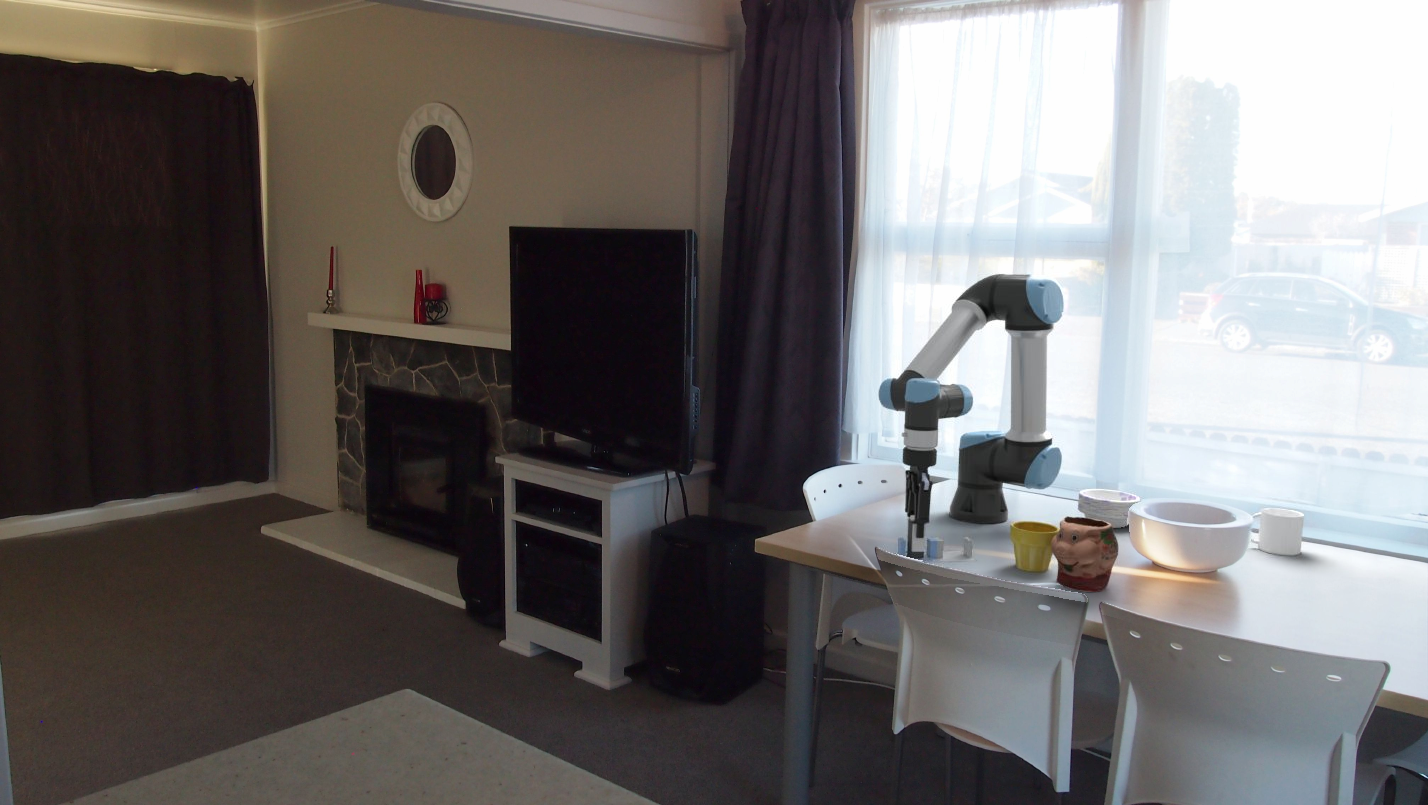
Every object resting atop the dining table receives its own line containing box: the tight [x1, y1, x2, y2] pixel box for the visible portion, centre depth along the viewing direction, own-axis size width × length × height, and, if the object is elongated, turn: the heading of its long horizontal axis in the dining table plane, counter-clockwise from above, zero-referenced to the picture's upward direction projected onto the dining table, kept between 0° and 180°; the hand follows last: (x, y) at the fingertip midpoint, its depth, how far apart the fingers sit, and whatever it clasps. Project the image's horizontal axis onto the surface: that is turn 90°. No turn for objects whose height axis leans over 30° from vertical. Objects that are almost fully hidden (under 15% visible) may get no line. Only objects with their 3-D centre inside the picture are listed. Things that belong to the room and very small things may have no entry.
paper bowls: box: [1077, 488, 1142, 529], centre depth 267 cm, size 15×15×8 cm
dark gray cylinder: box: [906, 515, 924, 559], centre depth 232 cm, size 4×4×9 cm
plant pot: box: [1009, 520, 1060, 573], centre depth 225 cm, size 10×10×10 cm
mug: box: [1250, 507, 1305, 557], centre depth 244 cm, size 12×9×9 cm
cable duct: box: [893, 536, 977, 563], centre depth 233 cm, size 17×8×4 cm, turn 95°
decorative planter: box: [1051, 516, 1119, 593], centre depth 215 cm, size 20×12×14 cm, turn 135°
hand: (915, 548), depth 232 cm, fingers closed on dark gray cylinder, 4 cm apart
